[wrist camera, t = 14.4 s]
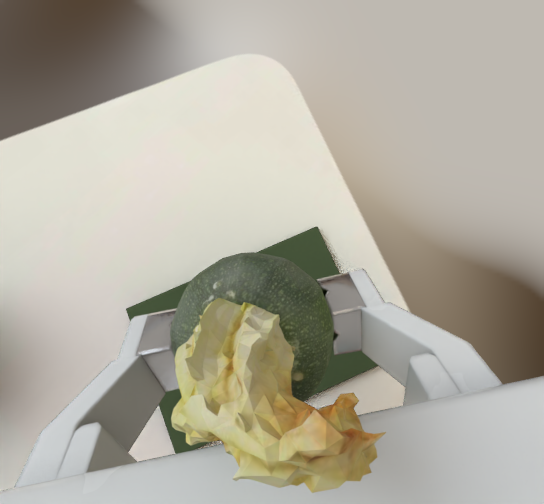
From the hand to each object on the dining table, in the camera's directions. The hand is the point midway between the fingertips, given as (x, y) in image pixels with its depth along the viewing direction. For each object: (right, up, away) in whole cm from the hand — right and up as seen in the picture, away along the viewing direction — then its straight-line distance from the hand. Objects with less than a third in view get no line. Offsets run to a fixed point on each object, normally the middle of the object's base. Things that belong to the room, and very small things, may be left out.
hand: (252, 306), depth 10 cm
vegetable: (+1, -3, +12) cm, 13 cm away
